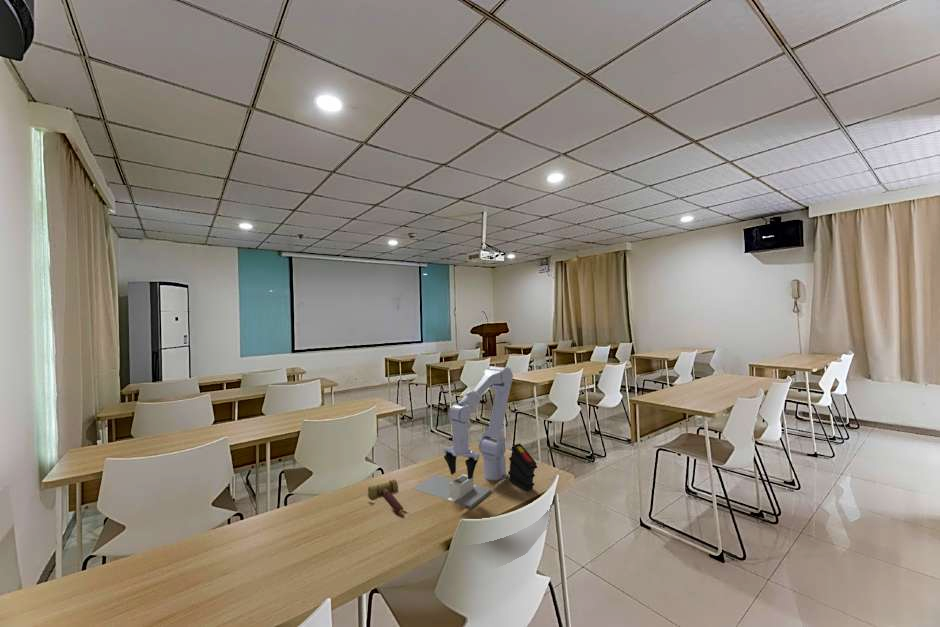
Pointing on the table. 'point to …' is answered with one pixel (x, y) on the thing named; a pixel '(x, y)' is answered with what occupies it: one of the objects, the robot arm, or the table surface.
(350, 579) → the table surface
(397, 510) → the gavel
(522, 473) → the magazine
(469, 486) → the block
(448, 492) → the board
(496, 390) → the robot arm
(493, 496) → the table surface
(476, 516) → the table surface
